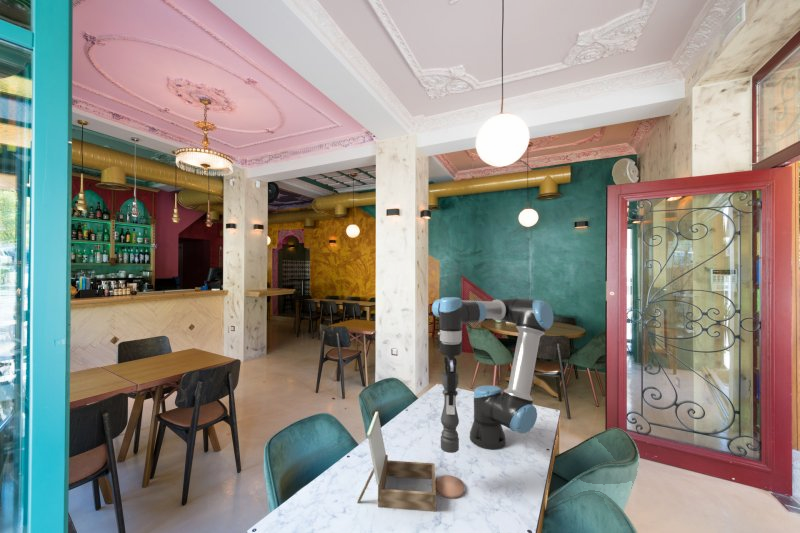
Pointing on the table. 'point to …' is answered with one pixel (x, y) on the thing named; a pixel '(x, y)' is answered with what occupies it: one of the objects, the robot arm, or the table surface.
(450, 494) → the saucer
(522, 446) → the table surface
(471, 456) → the table surface
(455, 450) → the candle holder
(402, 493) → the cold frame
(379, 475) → the frame lid
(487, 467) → the table surface
